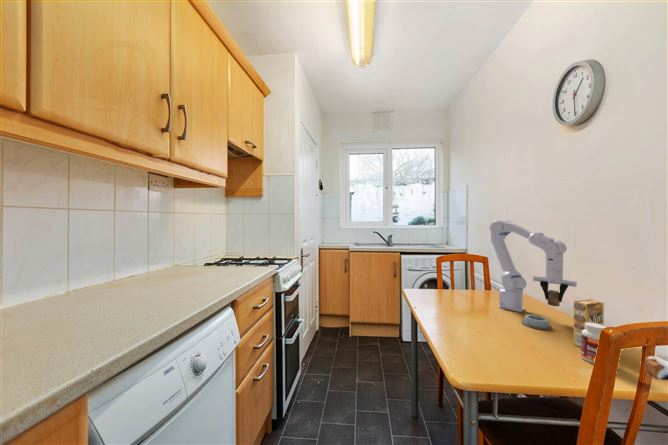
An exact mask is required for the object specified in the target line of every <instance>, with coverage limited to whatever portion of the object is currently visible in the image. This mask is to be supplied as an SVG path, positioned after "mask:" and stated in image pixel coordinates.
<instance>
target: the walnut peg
mask: <svg viewBox="0 0 668 445" xmlns="http://www.w3.org/2000/svg"><path fill="white" fill-rule="evenodd" d="M559 297H560V291H558V290H553V289H548V300H547V305H548V306H553V307H560V303H561V302H559Z"/></svg>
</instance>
